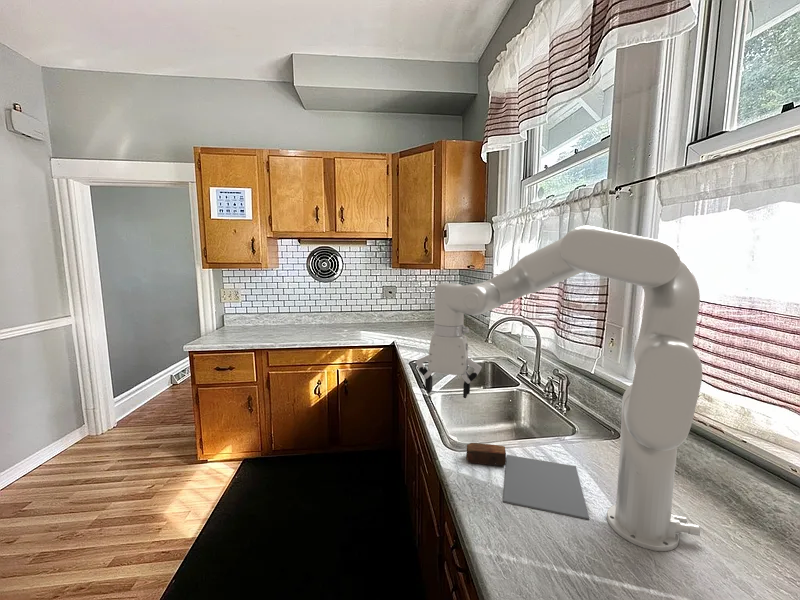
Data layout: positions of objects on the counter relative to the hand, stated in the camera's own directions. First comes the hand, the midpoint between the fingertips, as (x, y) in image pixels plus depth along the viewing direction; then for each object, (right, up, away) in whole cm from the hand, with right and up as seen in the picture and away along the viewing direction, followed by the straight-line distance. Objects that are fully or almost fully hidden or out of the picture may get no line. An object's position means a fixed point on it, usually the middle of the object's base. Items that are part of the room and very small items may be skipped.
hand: (447, 393), depth 95 cm
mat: (+24, -22, -5) cm, 32 cm away
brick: (+9, -17, +2) cm, 19 cm away
